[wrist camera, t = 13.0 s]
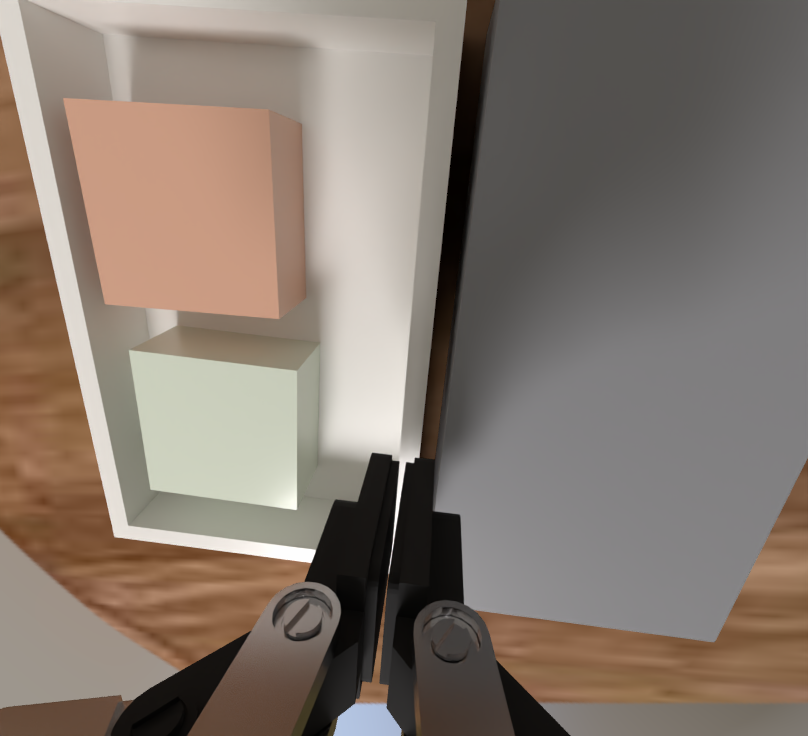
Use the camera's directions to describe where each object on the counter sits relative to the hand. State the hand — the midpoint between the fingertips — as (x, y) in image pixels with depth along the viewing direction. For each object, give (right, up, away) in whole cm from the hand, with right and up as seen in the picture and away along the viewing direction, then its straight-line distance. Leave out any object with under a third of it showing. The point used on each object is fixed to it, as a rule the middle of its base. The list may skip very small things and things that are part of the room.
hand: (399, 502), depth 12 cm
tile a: (-6, +7, 0) cm, 9 cm away
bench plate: (+6, +4, +3) cm, 8 cm away
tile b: (-6, +2, +2) cm, 6 cm away
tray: (-4, +6, +3) cm, 8 cm away
